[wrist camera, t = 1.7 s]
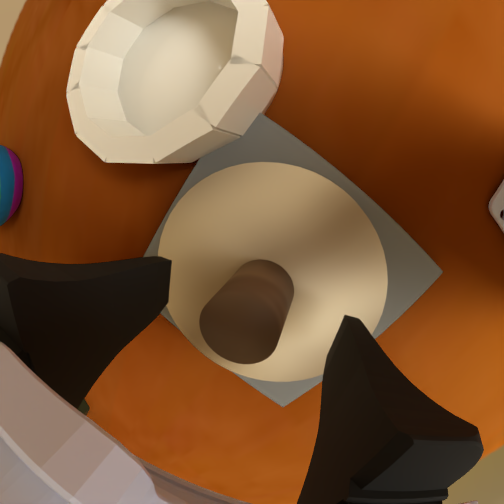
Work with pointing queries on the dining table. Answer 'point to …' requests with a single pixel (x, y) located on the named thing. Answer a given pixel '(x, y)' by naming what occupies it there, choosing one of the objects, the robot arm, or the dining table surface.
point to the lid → (271, 269)
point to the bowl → (173, 77)
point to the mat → (389, 232)
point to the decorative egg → (9, 183)
